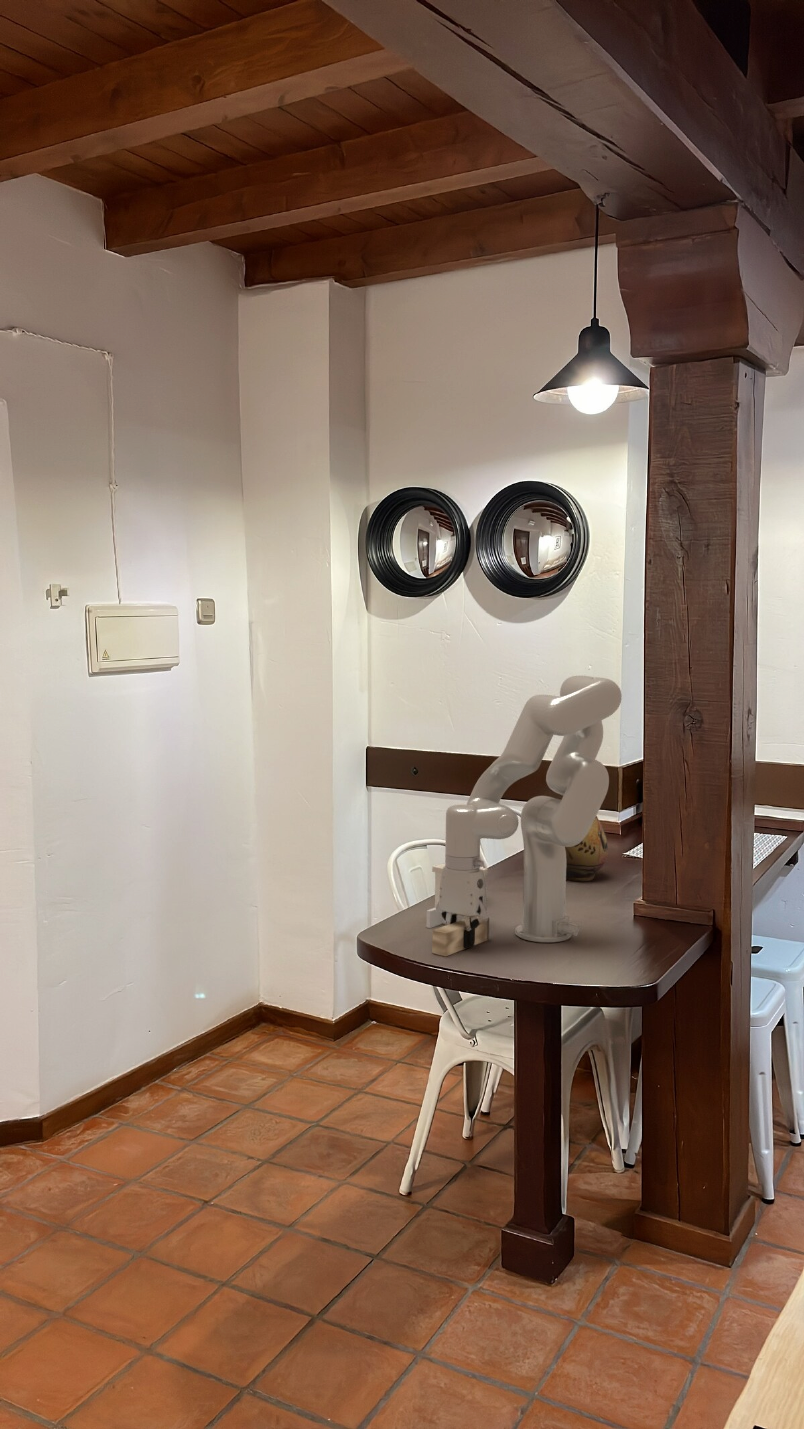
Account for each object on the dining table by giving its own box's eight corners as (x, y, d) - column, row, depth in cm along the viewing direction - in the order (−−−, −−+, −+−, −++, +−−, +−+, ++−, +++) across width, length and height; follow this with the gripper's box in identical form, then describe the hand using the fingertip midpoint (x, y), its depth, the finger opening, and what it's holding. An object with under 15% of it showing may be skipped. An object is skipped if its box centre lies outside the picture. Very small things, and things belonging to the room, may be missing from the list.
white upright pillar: (449, 915, 259) (450, 861, 258) (487, 924, 252) (488, 868, 251) (419, 925, 250) (420, 870, 249) (457, 935, 243) (458, 877, 242)
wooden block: (445, 956, 228) (445, 933, 227) (432, 953, 230) (432, 930, 229) (488, 939, 240) (489, 917, 240) (476, 936, 242) (476, 914, 242)
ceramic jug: (611, 884, 290) (614, 774, 287) (554, 883, 290) (556, 773, 287) (601, 869, 307) (604, 765, 304) (546, 868, 307) (549, 765, 304)
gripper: (503, 865, 231) (502, 948, 233) (442, 853, 241) (441, 933, 243) (483, 871, 225) (482, 957, 227) (421, 859, 236) (420, 941, 237)
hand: (461, 944), depth 235 cm, fingers closed on wooden block, 3 cm apart
